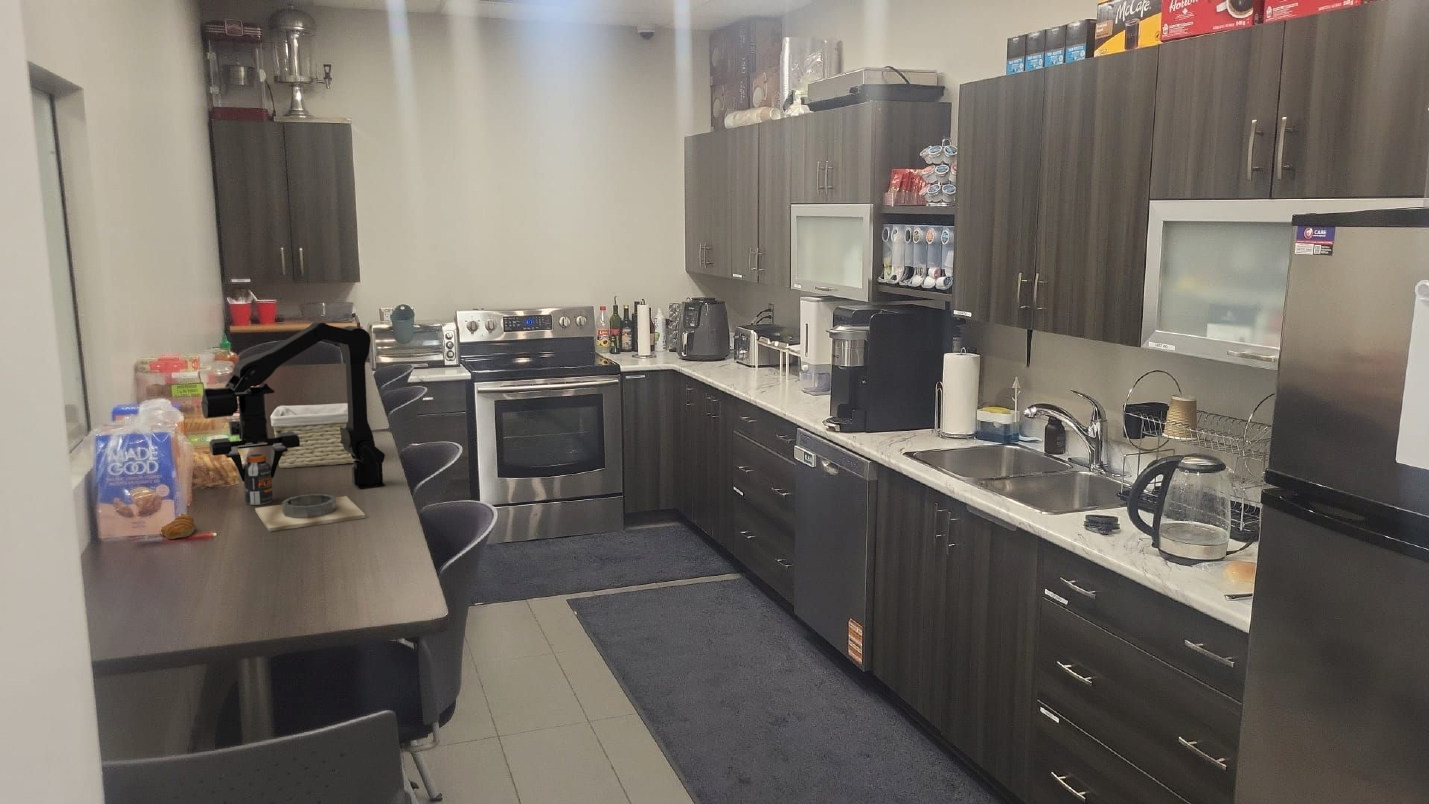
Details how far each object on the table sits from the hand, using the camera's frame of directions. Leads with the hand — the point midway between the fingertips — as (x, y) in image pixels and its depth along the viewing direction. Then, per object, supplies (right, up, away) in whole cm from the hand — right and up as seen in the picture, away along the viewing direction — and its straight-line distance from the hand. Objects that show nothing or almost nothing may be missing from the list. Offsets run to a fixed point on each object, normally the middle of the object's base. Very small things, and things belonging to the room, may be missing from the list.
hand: (257, 479), depth 243 cm
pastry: (-7, -10, -23) cm, 26 cm away
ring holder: (+16, -7, -9) cm, 20 cm away
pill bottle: (0, -6, +1) cm, 6 cm away
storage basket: (-1, +2, +43) cm, 43 cm away
